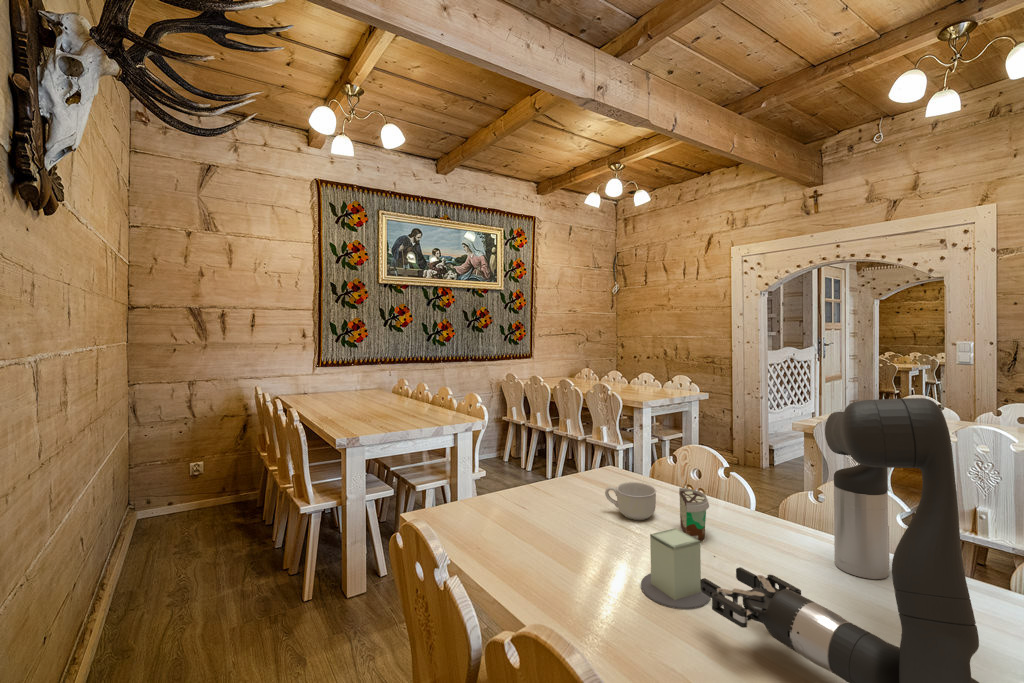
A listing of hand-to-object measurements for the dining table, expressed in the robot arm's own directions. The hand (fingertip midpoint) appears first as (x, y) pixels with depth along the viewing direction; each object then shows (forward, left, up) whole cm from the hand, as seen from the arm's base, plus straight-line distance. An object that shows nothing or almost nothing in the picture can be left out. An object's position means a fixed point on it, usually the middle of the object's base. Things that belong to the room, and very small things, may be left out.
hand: (719, 578), depth 83 cm
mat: (0, -11, -7) cm, 13 cm away
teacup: (-17, -46, -8) cm, 50 cm away
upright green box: (0, -11, -7) cm, 13 cm away
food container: (-23, -28, -8) cm, 37 cm away
